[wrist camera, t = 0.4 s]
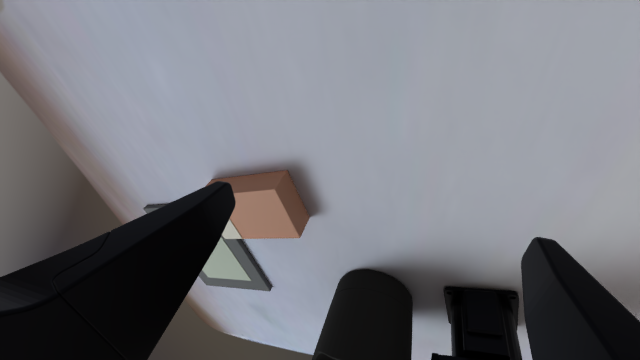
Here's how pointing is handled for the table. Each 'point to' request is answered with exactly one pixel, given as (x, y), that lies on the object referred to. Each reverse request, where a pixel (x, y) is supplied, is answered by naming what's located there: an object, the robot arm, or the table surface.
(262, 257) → the table surface
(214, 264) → the mat
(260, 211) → the block
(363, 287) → the pen holder
